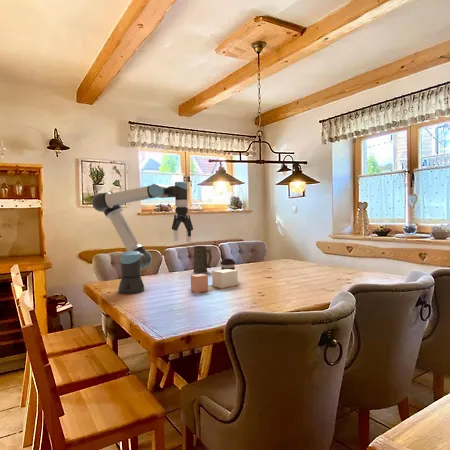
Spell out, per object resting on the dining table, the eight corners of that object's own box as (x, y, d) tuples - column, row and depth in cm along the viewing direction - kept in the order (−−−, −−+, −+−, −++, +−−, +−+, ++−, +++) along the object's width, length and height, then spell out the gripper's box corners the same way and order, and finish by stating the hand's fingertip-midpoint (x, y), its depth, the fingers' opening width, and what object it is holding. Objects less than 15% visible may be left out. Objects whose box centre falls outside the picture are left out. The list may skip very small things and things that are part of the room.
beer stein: (190, 272, 274) (191, 246, 272) (195, 270, 284) (196, 245, 283) (209, 274, 269) (210, 248, 268) (213, 272, 279) (215, 246, 278)
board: (201, 294, 200) (201, 293, 200) (187, 290, 211) (187, 289, 211) (240, 286, 220) (240, 285, 220) (225, 283, 230) (225, 282, 230)
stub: (197, 292, 203) (196, 276, 203) (191, 290, 208) (190, 275, 207) (208, 290, 208) (207, 274, 208) (201, 288, 213) (201, 273, 212)
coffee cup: (234, 283, 230) (233, 260, 229) (219, 283, 232) (218, 260, 231) (236, 280, 240) (236, 258, 239) (222, 280, 242) (222, 258, 241)
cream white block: (221, 288, 213) (221, 272, 213) (212, 285, 220) (212, 271, 220) (237, 284, 222) (237, 270, 221) (228, 282, 228) (227, 268, 228)
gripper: (198, 206, 212) (199, 241, 213) (175, 207, 231) (176, 239, 232) (188, 206, 207) (189, 242, 208) (165, 207, 226) (166, 240, 227)
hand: (182, 241), depth 220 cm, fingers open, 13 cm apart
